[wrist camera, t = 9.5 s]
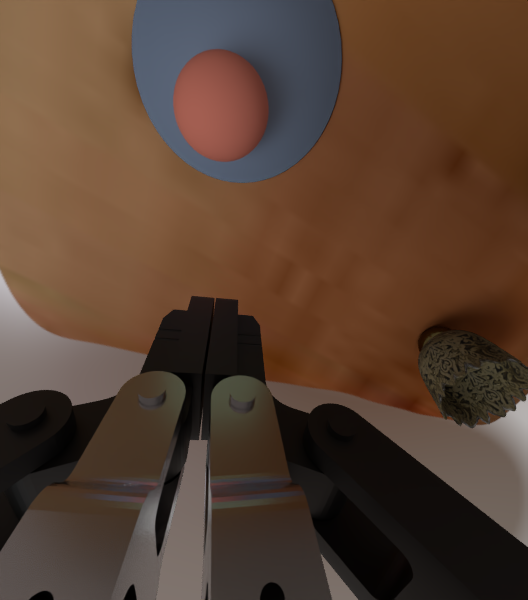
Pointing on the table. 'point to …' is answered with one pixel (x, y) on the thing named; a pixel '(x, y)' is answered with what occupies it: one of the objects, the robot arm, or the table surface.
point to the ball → (220, 105)
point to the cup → (469, 375)
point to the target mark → (260, 54)
